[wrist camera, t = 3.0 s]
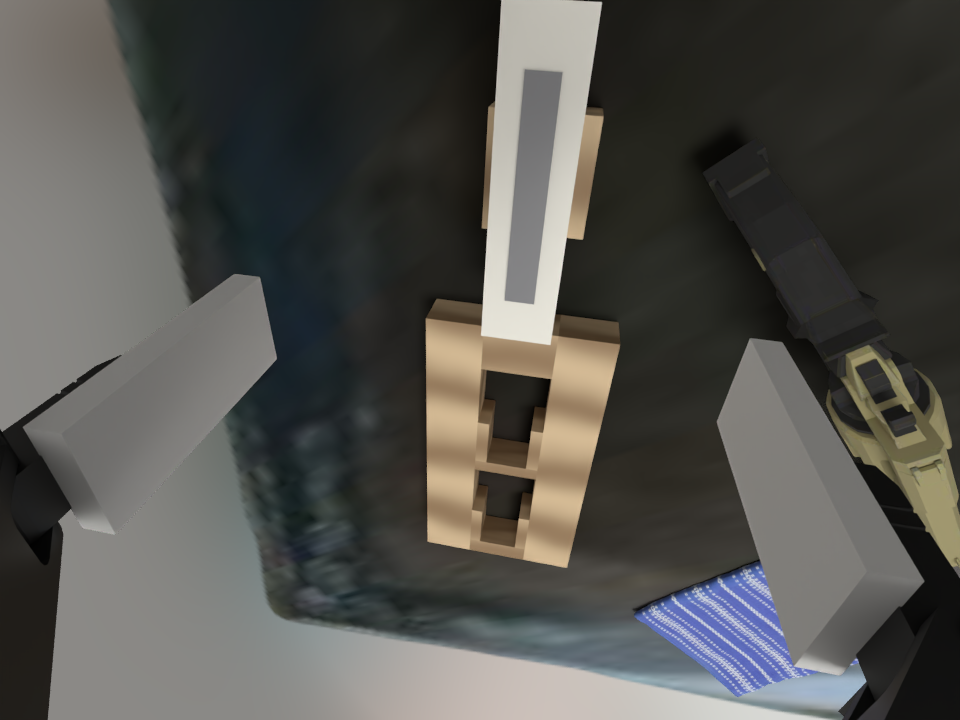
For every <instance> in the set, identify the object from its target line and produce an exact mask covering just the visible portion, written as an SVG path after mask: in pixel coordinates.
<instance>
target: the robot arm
mask: <svg viewBox="0 0 960 720" xmlns="http://www.w3.org/2000/svg"><path fill="white" fill-rule="evenodd" d="M276 359H277V357H276V352H275V348H274V343H273V338H272V333H271V328H270V323H269V319H268V314H267V309H266V304H265V299H264V295H263V290H262V285H261V280H260V277H255V276H247V275H238V274H234V275H232V276H231V277H230V278H228V279H227V280H226V281H224V282H223V283H221V284H220V285H219V286H217V287H216V288H214V289H213V290H212V291H210V292H209V293H208V294H206V295H205V296H203V297H202V298H201V299H199V300H198V301H196V302H195V303H194V304H192V305H191V306H190V307H188V308H187V309H185V310H184V311H183V312H181V313H180V314H178V315H177V316H176V317H174V318H173V319H172V320H170V321H169V322H168V323H166V324H165V325H163V326H162V327H161V328H159V329H158V330H156V331H155V332H154V333H152V334H151V335H150V336H148V337H147V338H145V339H144V340H143V341H141V342H140V343H138V344H137V345H136V346H134V347H133V348H131V349H130V350H129V351H128V352H126V353H125V354H123V355H120V356H117V357H116V358H113V359H111V360H108V361H106V362H104V363H101V364H100V365H97V366H95V367H94V368H92V369H91V370H89V371H88V372H87V373H86V374H84V375H82V376H81V377H79V378H78V379H77V382H76V383H75V382H72V383H71V384H70V385H68V386H67V387H65V388H64V389H62V390H61V393H60V394H55V395H54V396H53V397H51V398H50V399H48V400H47V401H45V402H44V403H43V404H41V405H40V406H38V407H37V408H36V409H34V410H33V411H31V412H30V413H29V414H27V415H26V416H24V417H23V418H21V419H20V420H19V421H18V422H16V423H14V424H13V425H11V426H10V427H9V428H7V429H6V430H4V431H3V432H2V431H1V430H0V720H48V708H49V697H50V684H51V673H52V662H53V650H54V638H55V627H56V615H57V602H58V590H59V579H60V568H61V567H60V566H61V555H62V544H63V532H62V528H61V526H60V524H59V523H58V521H59V520H60V519H61V518H62V517H63V516H64V515H65V514H66V513H67V512H68V511H69V510H70V509H71V510H72V511H73V513H74V515H75V516H76V518H77V520H78V522H79V523H80V525H81V526H82V528H84V529H89V530H94V531H99V532H105V533H109V534H114V535H116V534H117V533H118V532H119V531H120V530H121V529H122V527H123V526H124V525H125V524H126V523H127V522H128V521H129V520H130V519H131V518H132V517H133V515H134V514H135V513H136V512H137V511H138V510H139V509H140V508H141V507H142V506H143V505H144V503H145V502H146V501H147V500H148V499H149V498H150V497H151V496H152V495H153V494H154V493H155V491H156V490H157V489H158V488H159V487H160V486H161V485H162V484H163V483H164V482H165V480H166V479H167V478H168V477H169V476H170V475H171V474H172V473H173V472H174V471H175V470H176V469H177V467H178V466H179V465H180V464H181V463H182V462H183V461H184V460H185V459H186V458H187V456H188V455H189V454H190V453H191V452H192V451H193V450H194V449H195V448H196V447H197V446H198V444H199V443H200V442H201V441H202V440H203V439H204V438H205V437H206V436H207V435H208V434H209V432H210V431H211V430H212V429H213V428H214V427H215V426H216V425H217V424H218V422H220V420H221V419H222V418H223V417H224V416H225V415H226V414H227V413H228V412H229V411H230V410H231V408H232V407H233V406H234V405H235V404H236V403H237V402H238V401H239V400H240V399H241V398H242V396H243V395H244V394H245V393H246V392H247V391H248V390H249V389H250V388H251V387H252V385H253V384H254V383H255V382H256V381H257V380H258V379H259V378H260V377H261V376H262V375H263V373H264V372H265V371H266V370H267V369H268V368H269V367H270V366H271V365H272V364H273V363H274V361H275V360H276ZM717 424H718V428H719V431H720V434H721V437H722V440H723V443H724V447H725V450H726V453H727V456H728V459H729V463H730V466H731V469H732V472H733V475H734V478H735V482H736V485H737V488H738V491H739V494H740V497H741V501H742V504H743V507H744V510H745V513H746V517H747V520H748V523H749V526H750V529H751V532H752V536H753V539H754V542H755V545H756V548H757V552H758V555H759V558H760V561H761V564H762V567H763V571H764V574H765V577H766V580H767V583H768V586H769V590H770V593H771V596H772V599H773V602H774V606H775V609H776V612H777V615H778V618H779V621H780V625H781V628H782V631H783V634H784V637H785V641H786V644H787V647H788V650H789V653H790V656H791V660H792V663H793V666H794V667H799V668H804V669H809V670H814V671H819V672H824V673H829V674H835V675H840V676H841V675H842V673H843V672H844V671H845V670H846V669H847V668H848V667H849V666H850V664H851V663H852V662H853V661H854V660H855V659H856V658H857V659H858V662H859V664H860V666H861V669H862V671H863V674H864V676H865V678H866V681H867V682H866V683H865V684H864V685H863V686H862V687H861V688H860V689H859V690H858V691H857V692H856V693H855V695H854V696H853V697H852V698H851V699H850V700H849V701H848V702H847V703H846V704H845V705H844V706H843V707H842V708H841V709H840V710H839V711H838V712H840V713H841V714H842V715H843V716H844V718H843V720H960V578H959V576H958V575H957V573H956V572H955V570H954V569H953V567H952V566H951V564H950V563H949V561H948V560H947V558H946V557H945V555H944V554H943V552H942V551H941V549H940V548H939V546H938V545H937V543H936V542H935V540H934V539H933V537H932V536H931V534H930V532H926V526H925V525H924V523H923V522H922V520H921V519H920V517H919V516H918V514H917V513H914V512H913V510H914V508H913V507H912V505H911V504H910V502H909V501H908V499H907V498H906V496H905V495H904V493H903V492H902V490H901V489H900V487H899V486H898V485H897V484H896V483H895V482H893V481H892V480H891V479H890V478H889V477H888V476H887V475H885V474H884V473H883V472H882V471H881V470H880V469H879V468H877V467H876V466H874V465H868V464H861V463H854V462H853V460H852V459H851V457H850V455H849V454H848V452H847V450H846V448H845V447H844V445H843V443H842V442H841V440H840V438H839V437H838V435H837V433H836V432H835V430H834V428H833V427H832V425H831V423H830V422H829V420H828V418H827V416H826V415H825V413H824V411H823V410H822V408H821V406H820V405H819V403H818V401H817V400H816V398H815V396H814V395H813V393H812V391H811V390H810V388H809V386H808V384H807V383H806V381H805V379H804V378H803V376H802V374H801V373H800V371H799V369H798V368H797V366H796V364H795V363H794V361H793V359H792V358H791V356H790V354H789V353H788V351H787V349H786V347H785V346H784V344H783V342H777V341H769V340H761V339H753V338H750V340H749V342H748V345H747V347H746V350H745V352H744V355H743V357H742V360H741V362H740V365H739V367H738V370H737V372H736V375H735V377H734V380H733V382H732V385H731V388H730V390H729V393H728V395H727V398H726V400H725V403H724V405H723V408H722V410H721V413H720V415H719V418H718V420H717Z"/></svg>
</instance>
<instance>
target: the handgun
mask: <svg viewBox="0 0 960 720" xmlns="http://www.w3.org/2000/svg"><path fill="white" fill-rule="evenodd" d="M702 173H703V175H704V177H705V179H706V181H707V182H708V184H709V186H710V188H711V190H712V191H713V193H714V195H715V197H716V198H717V200H718V202H719V204H720V206H721V207H722V209H723V211H724V213H725V214H726V216H727V218H728V219H729V221H734V222H735V223H736V225H737V227H738V228H739V230H740V232H741V233H742V235H743V236H744V238H745V240H746V241H747V243H748V244H749V246H750V248H751V251H752V252H753V254H754V256H755V258H756V259H757V261H758V263H759V264H760V266H761V268H762V269H763V271H766V273H767V275H768V276H769V278H770V280H771V281H772V283H773V284H774V286H775V288H776V289H777V290H776V296H777V298H778V299H779V301H780V302H781V304H782V306H783V307H784V309H785V310H786V312H787V314H788V315H789V317H788V321H787V324H786V327H787V328H788V330H789V331H790V333H791V334H792V336H793V337H794V339H797V338H807V339H808V340H809V341H810V342H811V343H813V345H814V347H815V348H816V350H817V352H818V354H819V355H820V357H821V359H822V360H823V362H824V364H825V365H826V367H827V369H828V370H829V372H830V373H829V378H828V385H829V390H828V394H827V400H826V405H827V408H828V410H829V412H830V415H831V417H832V420H833V421H834V423H835V425H836V427H837V429H838V431H839V433H840V434H841V436H842V437H843V439H844V440H845V442H846V444H847V446H848V447H849V449H850V451H851V452H852V454H853V456H855V457H861V459H862V460H863V462H864V464H868V465H874V466H876V467H877V468H879V469H880V470H881V471H882V472H883V473H884V474H885V475H887V476H888V477H889V478H890V479H891V480H892V481H893V482H895V483H896V484H897V485H898V486H899V487H900V489H901V490H902V492H903V493H904V495H905V496H906V498H907V499H908V501H909V502H910V504H911V505H912V507H913V508H914V510H913V512H914V513H917V514H918V516H919V517H920V519H921V520H922V522H923V523H924V525H925V526H926V532H930V534H931V536H932V537H933V539H934V540H935V542H936V543H937V545H938V546H939V548H940V549H941V551H942V552H943V554H944V555H945V557H946V558H947V560H948V561H949V563H950V564H951V566H952V567H954V566H959V568H960V515H959V512H958V508H957V505H956V504H957V501H958V497H959V494H958V490H957V487H956V483H955V479H954V476H953V472H952V468H951V465H950V461H949V457H948V454H947V450H946V449H950V448H951V447H952V442H951V438H950V434H949V430H948V426H947V422H946V418H945V414H944V410H943V406H942V402H941V398H940V397H939V395H938V393H937V391H936V389H935V388H934V386H933V384H932V382H931V381H930V380H929V379H928V378H927V377H926V376H925V375H923V374H922V373H921V372H919V371H918V370H917V369H914V368H913V366H912V363H911V362H910V361H909V360H907V359H906V358H904V357H903V356H902V355H900V354H899V353H896V352H893V351H891V350H889V349H888V348H887V346H886V345H885V344H884V343H883V342H882V340H881V339H884V338H886V337H888V336H889V335H890V334H889V332H888V331H887V330H886V329H885V328H884V326H883V325H882V324H881V323H880V322H879V320H878V319H877V318H876V315H875V313H874V310H873V308H874V306H875V305H876V303H877V302H878V301H879V300H877V299H875V298H873V297H871V296H869V295H867V294H865V293H863V292H861V291H858V290H857V288H856V287H855V286H854V284H853V283H852V281H851V280H850V278H849V276H848V275H847V273H846V272H845V270H844V269H843V267H842V266H841V264H840V263H839V261H838V259H837V258H836V256H835V255H834V253H833V252H832V250H831V249H830V247H829V245H828V244H827V242H826V241H825V239H824V237H823V236H822V235H821V233H820V232H819V230H818V229H817V228H816V226H815V225H814V223H813V222H812V220H811V219H810V218H809V216H808V215H807V213H806V212H805V210H804V209H803V208H802V206H801V205H800V203H799V202H798V200H797V199H796V198H795V196H794V195H793V194H792V193H791V191H790V190H789V189H788V187H787V186H786V185H785V183H784V182H783V181H782V180H781V178H780V177H779V176H778V174H777V173H776V172H775V170H774V169H773V168H772V167H771V165H770V163H769V160H768V157H767V152H766V149H765V147H764V145H763V144H762V143H761V141H760V140H759V139H758V138H755V139H754V140H752V141H750V142H749V143H747V144H746V145H744V146H743V147H741V148H740V149H738V150H737V151H735V152H733V153H732V154H730V155H729V156H727V157H726V158H724V159H723V160H721V161H720V162H718V163H716V164H715V165H713V166H712V167H710V168H709V169H707V170H706V171H704V172H702Z"/></svg>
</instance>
